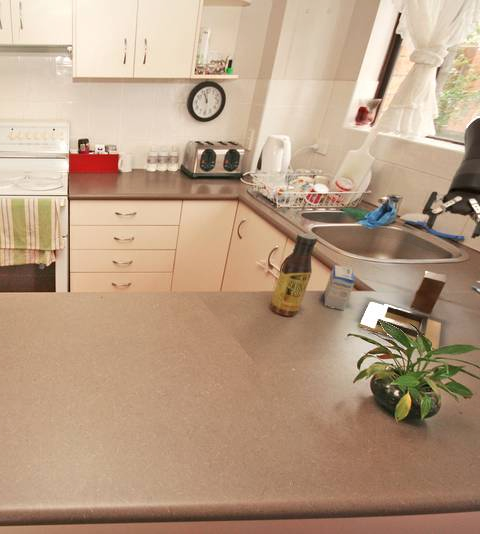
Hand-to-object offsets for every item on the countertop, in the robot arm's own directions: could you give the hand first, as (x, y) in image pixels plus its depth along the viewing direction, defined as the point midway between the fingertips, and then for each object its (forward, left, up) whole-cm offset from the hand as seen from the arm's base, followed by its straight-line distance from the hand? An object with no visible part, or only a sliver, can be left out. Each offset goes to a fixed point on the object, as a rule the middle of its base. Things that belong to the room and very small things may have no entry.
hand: (451, 232), depth 99 cm
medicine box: (+17, +25, -18) cm, 35 cm away
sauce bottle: (+25, +39, -18) cm, 49 cm away
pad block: (0, +12, -18) cm, 21 cm away
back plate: (+3, +27, -18) cm, 32 cm away
